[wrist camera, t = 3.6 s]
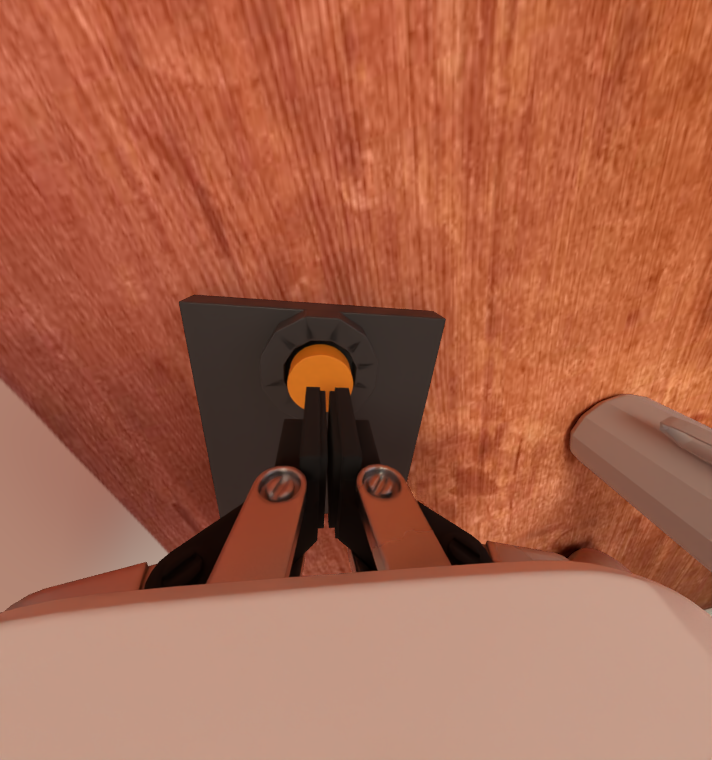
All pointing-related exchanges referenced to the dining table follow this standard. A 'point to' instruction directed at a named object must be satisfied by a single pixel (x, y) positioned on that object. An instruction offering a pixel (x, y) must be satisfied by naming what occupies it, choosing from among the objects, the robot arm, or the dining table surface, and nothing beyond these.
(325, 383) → the button
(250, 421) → the scale
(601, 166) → the dining table surface
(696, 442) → the water bottle
